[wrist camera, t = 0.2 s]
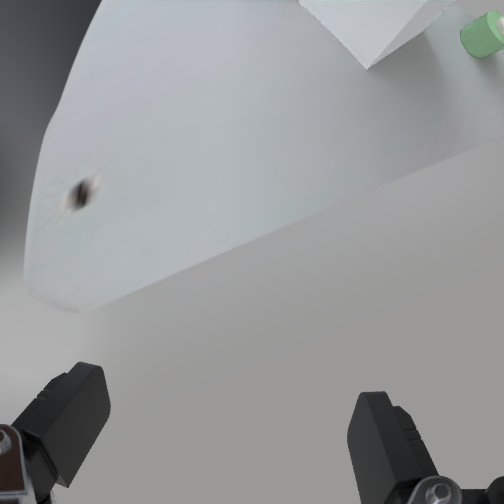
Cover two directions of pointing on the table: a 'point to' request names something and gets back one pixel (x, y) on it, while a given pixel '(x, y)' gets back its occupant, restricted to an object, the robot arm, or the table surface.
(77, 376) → the robot arm
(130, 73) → the table surface
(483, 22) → the soap bottle
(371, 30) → the milk
